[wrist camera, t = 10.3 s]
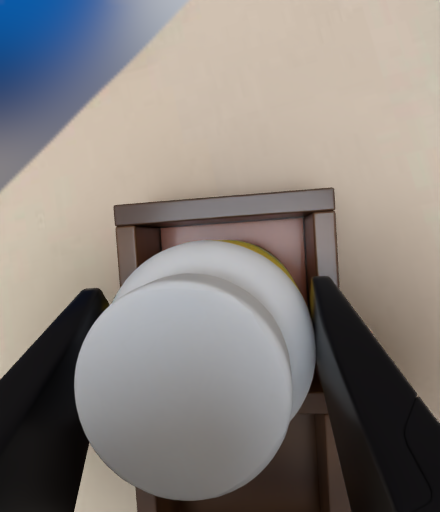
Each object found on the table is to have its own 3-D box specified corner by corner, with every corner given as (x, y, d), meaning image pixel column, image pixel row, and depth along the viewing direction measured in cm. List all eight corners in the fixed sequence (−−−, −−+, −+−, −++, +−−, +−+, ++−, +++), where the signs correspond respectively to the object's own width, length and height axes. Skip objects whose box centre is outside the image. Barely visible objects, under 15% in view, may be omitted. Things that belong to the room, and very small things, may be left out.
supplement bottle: (199, 220, 17) (101, 189, 7) (318, 271, 16) (398, 316, 6) (151, 335, 17) (-5, 459, 7) (265, 388, 16) (264, 599, 7)
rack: (337, 527, 18) (357, 610, 14) (169, 523, 19) (143, 599, 15) (318, 198, 18) (334, 187, 14) (146, 212, 19) (112, 205, 15)
